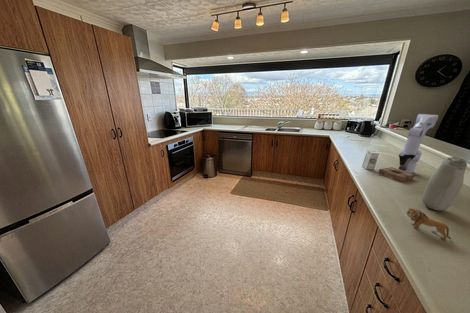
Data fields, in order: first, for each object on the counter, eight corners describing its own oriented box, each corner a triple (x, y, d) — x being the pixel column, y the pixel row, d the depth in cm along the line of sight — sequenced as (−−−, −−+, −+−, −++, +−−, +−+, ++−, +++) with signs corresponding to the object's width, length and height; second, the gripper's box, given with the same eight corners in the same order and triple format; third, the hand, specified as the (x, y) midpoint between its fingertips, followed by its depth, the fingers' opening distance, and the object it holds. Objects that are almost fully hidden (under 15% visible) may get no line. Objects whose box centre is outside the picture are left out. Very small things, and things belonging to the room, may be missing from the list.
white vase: (451, 216, 83) (480, 163, 73) (422, 209, 88) (446, 158, 78) (442, 206, 91) (467, 157, 81) (415, 200, 96) (437, 153, 86)
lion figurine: (402, 226, 76) (409, 209, 73) (401, 220, 80) (408, 203, 77) (452, 243, 67) (463, 225, 64) (448, 235, 71) (458, 218, 68)
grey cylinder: (400, 167, 122) (405, 156, 119) (407, 170, 119) (412, 158, 115) (397, 168, 121) (401, 156, 118) (403, 170, 117) (408, 158, 114)
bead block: (390, 171, 133) (391, 167, 132) (412, 179, 121) (414, 174, 119) (378, 173, 129) (379, 169, 127) (400, 181, 116) (401, 177, 115)
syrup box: (369, 167, 140) (374, 150, 135) (373, 170, 134) (379, 152, 129) (361, 166, 140) (366, 150, 135) (366, 169, 135) (371, 152, 130)
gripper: (411, 148, 108) (404, 168, 113) (425, 146, 113) (417, 165, 117) (398, 145, 114) (391, 164, 119) (411, 143, 119) (404, 161, 124)
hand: (403, 164), depth 119 cm, fingers closed on grey cylinder, 4 cm apart
